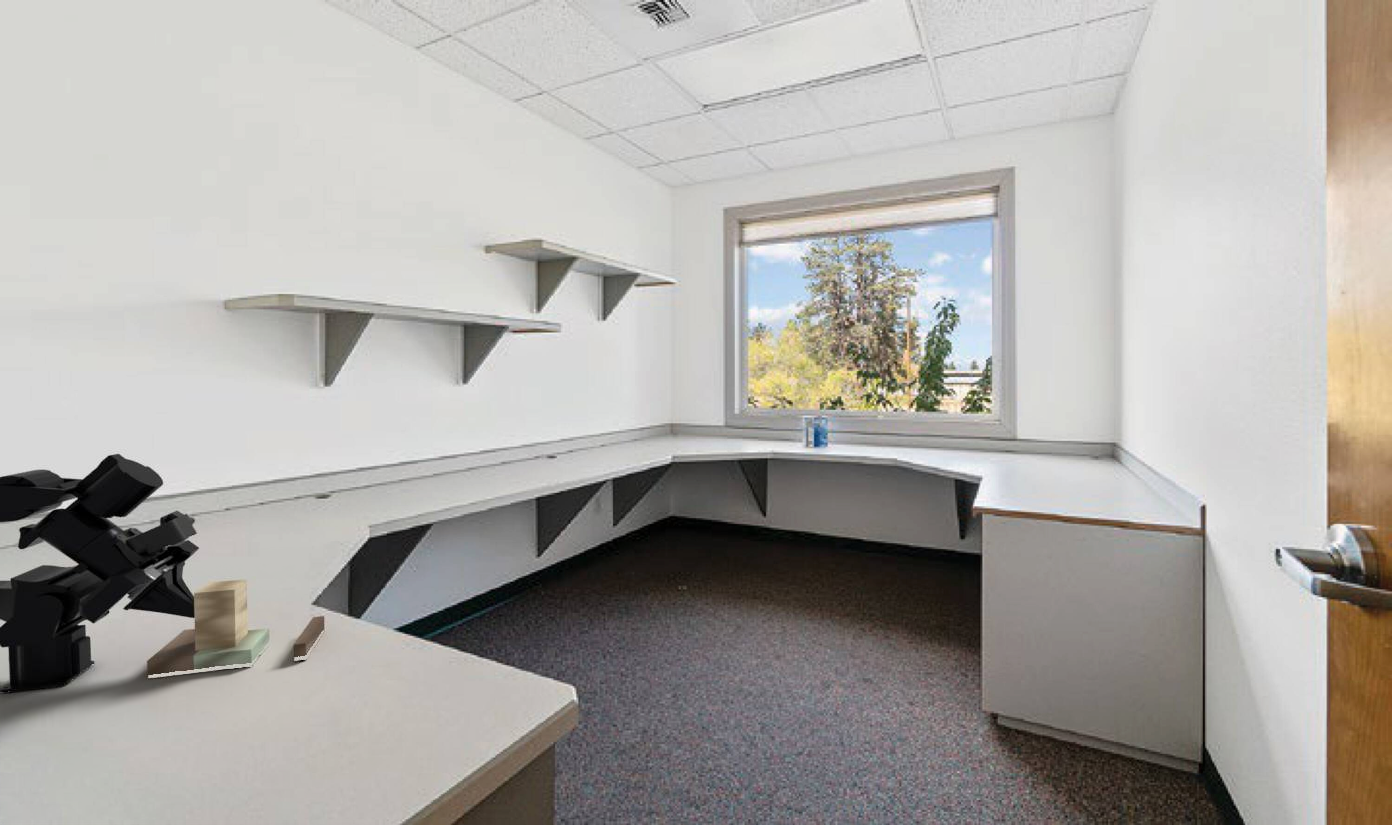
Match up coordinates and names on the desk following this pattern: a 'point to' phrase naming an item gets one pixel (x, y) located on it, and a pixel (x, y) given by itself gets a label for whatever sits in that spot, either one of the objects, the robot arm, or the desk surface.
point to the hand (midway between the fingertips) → (199, 614)
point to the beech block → (220, 614)
